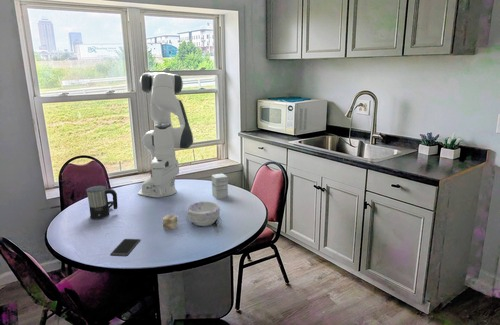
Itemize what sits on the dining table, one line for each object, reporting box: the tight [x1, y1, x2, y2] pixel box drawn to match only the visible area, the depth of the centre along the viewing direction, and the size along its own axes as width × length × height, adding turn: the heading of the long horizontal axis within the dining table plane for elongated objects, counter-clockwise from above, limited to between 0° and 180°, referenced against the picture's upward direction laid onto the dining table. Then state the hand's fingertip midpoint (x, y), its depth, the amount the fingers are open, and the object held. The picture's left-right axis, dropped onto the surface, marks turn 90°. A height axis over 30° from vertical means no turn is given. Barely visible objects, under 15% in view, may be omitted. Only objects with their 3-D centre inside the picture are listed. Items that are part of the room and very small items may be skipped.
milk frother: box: [85, 185, 118, 220], centre depth 181 cm, size 14×16×15 cm
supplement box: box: [211, 173, 229, 200], centre depth 203 cm, size 7×7×13 cm
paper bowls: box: [187, 201, 221, 227], centre depth 169 cm, size 15×15×8 cm
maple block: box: [162, 214, 179, 230], centre depth 165 cm, size 5×5×5 cm
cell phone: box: [110, 238, 141, 257], centre depth 147 cm, size 7×14×1 cm, turn 175°
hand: (168, 189), depth 160 cm, fingers open, 8 cm apart
